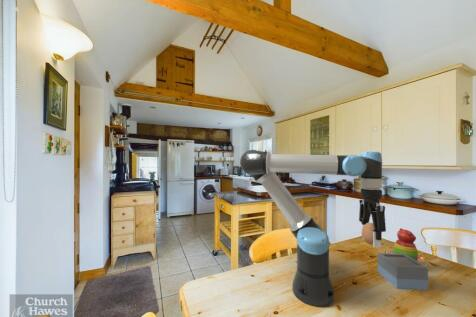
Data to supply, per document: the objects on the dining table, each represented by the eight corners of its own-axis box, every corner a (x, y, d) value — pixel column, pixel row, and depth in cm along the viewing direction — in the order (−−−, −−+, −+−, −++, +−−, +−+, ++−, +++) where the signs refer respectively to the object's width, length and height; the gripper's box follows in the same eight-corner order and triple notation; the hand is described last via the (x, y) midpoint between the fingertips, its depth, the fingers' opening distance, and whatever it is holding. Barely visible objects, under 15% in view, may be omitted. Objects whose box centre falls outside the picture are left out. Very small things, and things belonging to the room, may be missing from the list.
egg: (383, 248, 79) (383, 226, 79) (364, 246, 81) (364, 224, 81) (377, 242, 85) (377, 221, 85) (359, 240, 87) (359, 219, 87)
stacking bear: (426, 273, 92) (425, 234, 92) (401, 270, 94) (400, 232, 94) (410, 261, 102) (410, 227, 102) (388, 259, 104) (388, 225, 104)
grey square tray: (396, 288, 80) (396, 266, 80) (377, 272, 92) (377, 252, 92) (428, 290, 79) (428, 267, 79) (404, 273, 91) (404, 253, 91)
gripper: (397, 192, 73) (398, 254, 73) (366, 185, 93) (366, 235, 92) (376, 191, 74) (377, 254, 73) (350, 185, 93) (350, 234, 93)
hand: (371, 243), depth 83 cm, fingers closed on egg, 7 cm apart
